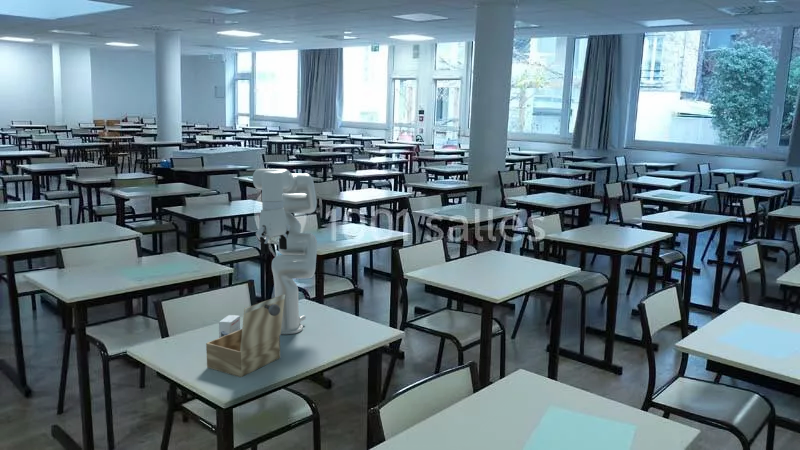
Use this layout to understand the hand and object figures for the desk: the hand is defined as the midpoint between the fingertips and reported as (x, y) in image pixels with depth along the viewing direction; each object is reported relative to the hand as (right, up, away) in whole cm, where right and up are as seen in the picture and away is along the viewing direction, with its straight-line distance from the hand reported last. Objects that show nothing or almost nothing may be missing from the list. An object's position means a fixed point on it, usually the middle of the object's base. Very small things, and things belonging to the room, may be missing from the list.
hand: (274, 251), depth 231 cm
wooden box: (-10, -40, -5) cm, 41 cm away
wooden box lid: (-1, -24, -13) cm, 27 cm away
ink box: (-18, -37, +9) cm, 43 cm away
